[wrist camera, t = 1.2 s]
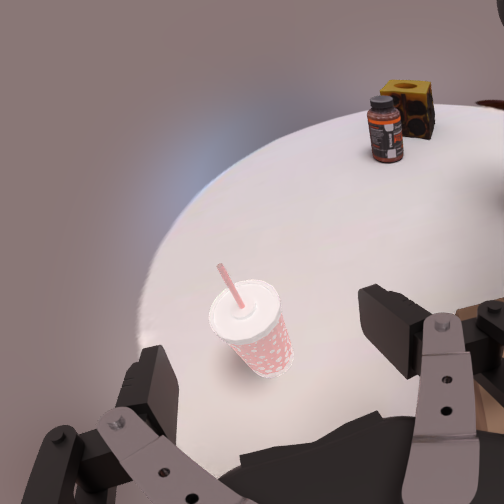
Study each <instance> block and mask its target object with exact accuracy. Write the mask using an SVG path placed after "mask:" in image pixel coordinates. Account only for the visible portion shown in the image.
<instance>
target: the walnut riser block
mask: <svg viewBox="0 0 504 504" xmlns="http://www.w3.org/2000/svg"><path fill="white" fill-rule="evenodd" d="M496 301H501V302H504V297H503V298H500V299H496ZM479 305H480V304H478V305H474V306H470V307H466V308H462V309H458V310H457V311H456V314H455V315H456V316H457V317H459V318H460V320H461V321H463V320H467V319H471V318H474V317H477V308H478V306H479ZM502 357H503V358H504V351H503V356H502ZM473 382H474V394H475V413H476V430H481V431H487V432H493V433H500V434H504V408H503V407H502V406H501V405H500V404H499V403H498V402H497V401H496V400H495V399H494V398H493V397H492V396H491V395H490V394H489V393H488V392H487V391H486V390H485V389H484V388H483V387H482V386H481V385H480V384H478V383H477V382H476V381H475V380H474V379H473Z"/></svg>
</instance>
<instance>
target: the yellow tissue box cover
mask: <svg viewBox="0 0 504 504" xmlns="http://www.w3.org/2000/svg"><path fill="white" fill-rule="evenodd" d="M380 95H381V96H390V97H392V98H393V103H394V105H393V106H394V107H395V108H396V109H397V110H398V111H399V112H400V118H401V128H402V136H405V137H418V138H424V139H431V135H432V132H433V129H434V124H435V111H434V105H433V98H432V90H431V82H426V81H413V80H389V82H388V83H387V84H386V85H385V86H384V87H383V88H382V89H381V90H380Z"/></svg>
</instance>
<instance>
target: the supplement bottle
mask: <svg viewBox="0 0 504 504" xmlns="http://www.w3.org/2000/svg"><path fill="white" fill-rule="evenodd" d="M370 103H371V106H372V108H371V109H370V110H369V111H368V112H367V118H368V125H369V132H370V139H371V146H372V153H373V156H374V158H375V159H377V160H379V161H382V162H395V161H398V160H400V159H401V158H402V157H403V151H404V150H403V139H402V128H401V118H400V112H399V111H398V110H397V109H396V108H395V107H394V106H393V105H394V103H393V98H392V97H390V96H374V97H372V98H371V99H370Z"/></svg>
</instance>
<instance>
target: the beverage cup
mask: <svg viewBox="0 0 504 504" xmlns="http://www.w3.org/2000/svg"><path fill="white" fill-rule="evenodd" d="M217 269H218V270H219V272H220V274H221V276H222V278H223V279H224V281H225V283H226V285H227V286H228V288H226V289H224V290H223V291H222V292H221V293H220V294H219V295H218V296H217V297H216V298H215V300H214V302H213V304H212V306H211V308H210V311H209V323H210V325H211V327H212V330H213V332H214V333H216V334H217V336H218V337H219V338H221V339H222V340H223V341H225V342H226V343H228V344H229V345H230V346H231V347H232V348H233V350H234V351H235V352H236V353H237V354H238V355H239V356H240V357H241V358H242V359H243V360H244V361H245V363H246V364H247V365H248V366H249V367H250V368H251V369H252V370H253V371H254V372H255V373H256V374H258V375H259V376H261V377H265V378H273V377H278V376H280V375H281V374H283V373H285V372H286V371H287V370H288V369H289V367H290V366H291V364H292V362H293V359H294V356H293V349H292V346H291V342H290V339H289V336H288V333H287V329H286V326H285V323H284V320H283V316H282V308H281V300H280V297H279V294H278V293H277V291H276V290H275V289H274V287H273V286H272V285H270V284H268V283H266V282H264V281H262V280H251V279H250V280H245V281H241V282H237V283H235V284H233V283H232V281H231V279H230V277H229V275H228V273H227V271H226V270H225V268H224V266H223V264H222V263H220V264H218V265H217Z"/></svg>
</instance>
